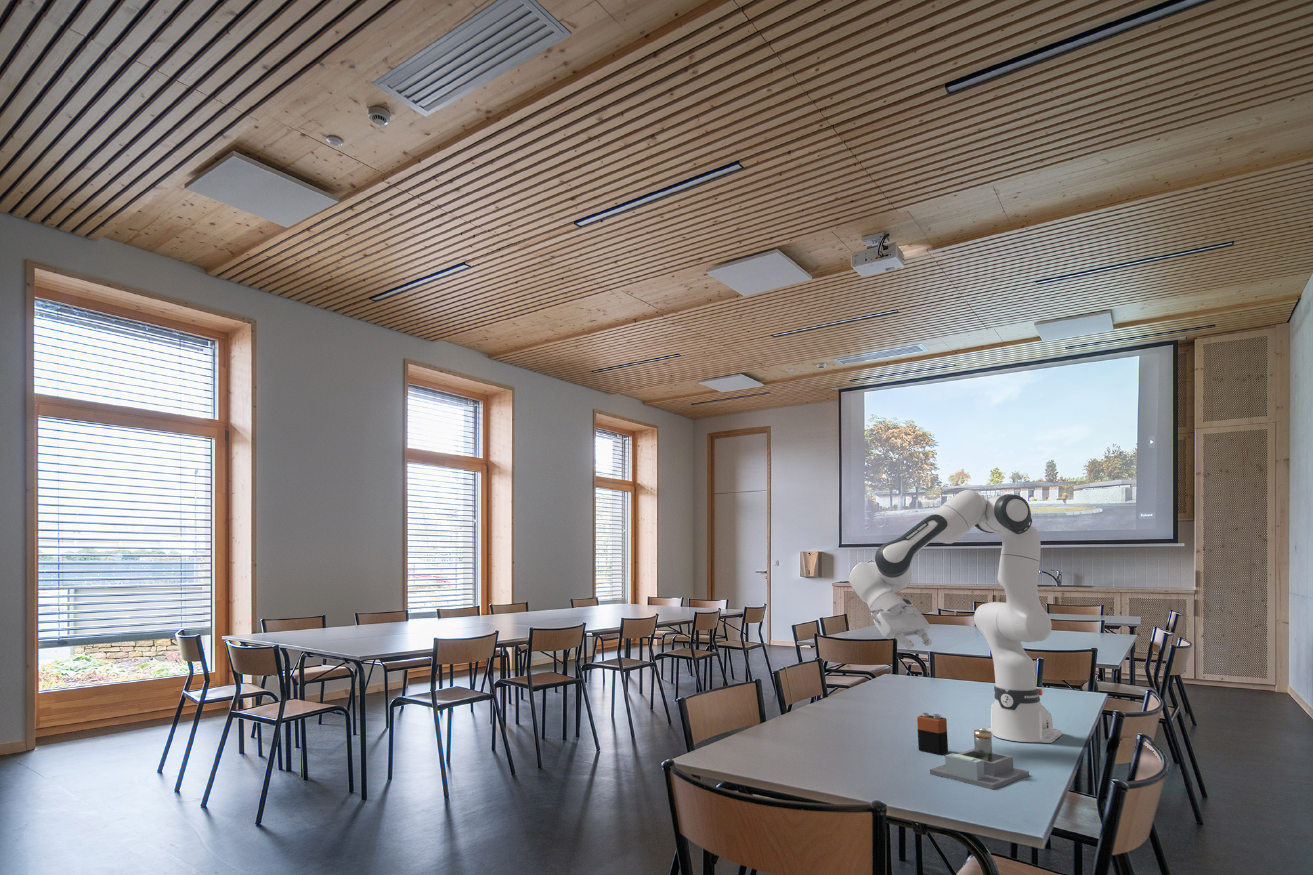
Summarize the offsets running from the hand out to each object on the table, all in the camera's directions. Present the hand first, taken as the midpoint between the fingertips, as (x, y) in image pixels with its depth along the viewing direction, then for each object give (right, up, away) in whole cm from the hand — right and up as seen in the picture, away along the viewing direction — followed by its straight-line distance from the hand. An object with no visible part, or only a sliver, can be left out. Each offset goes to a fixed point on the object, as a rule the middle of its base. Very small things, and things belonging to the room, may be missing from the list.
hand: (920, 645), depth 215 cm
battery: (+1, -27, -7) cm, 28 cm away
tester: (+4, -24, -29) cm, 38 cm away
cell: (+6, -23, -27) cm, 36 cm away
